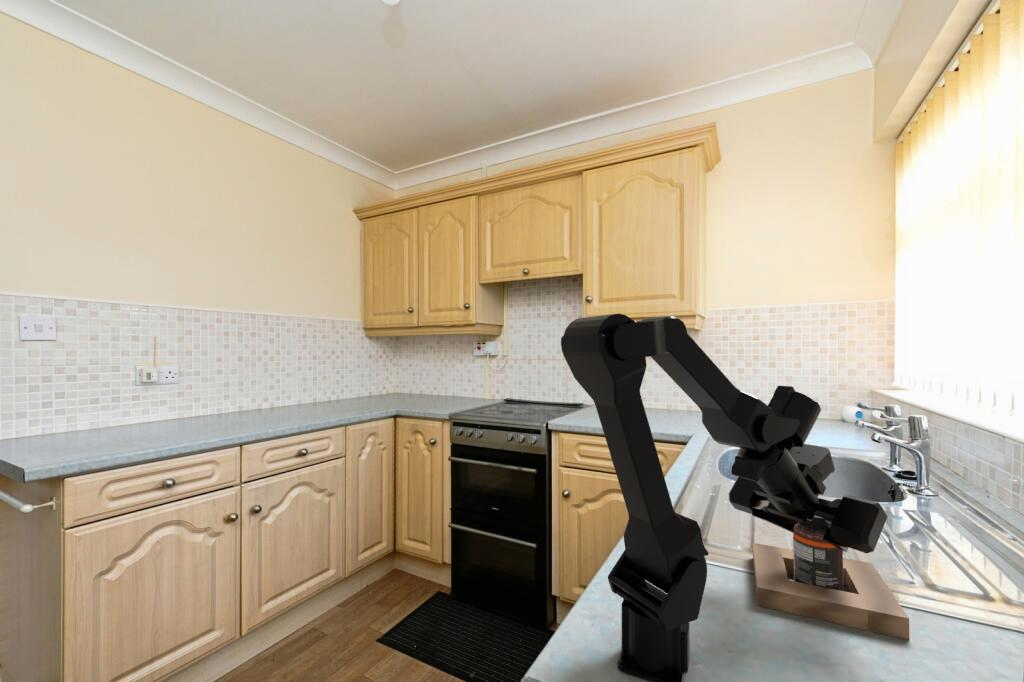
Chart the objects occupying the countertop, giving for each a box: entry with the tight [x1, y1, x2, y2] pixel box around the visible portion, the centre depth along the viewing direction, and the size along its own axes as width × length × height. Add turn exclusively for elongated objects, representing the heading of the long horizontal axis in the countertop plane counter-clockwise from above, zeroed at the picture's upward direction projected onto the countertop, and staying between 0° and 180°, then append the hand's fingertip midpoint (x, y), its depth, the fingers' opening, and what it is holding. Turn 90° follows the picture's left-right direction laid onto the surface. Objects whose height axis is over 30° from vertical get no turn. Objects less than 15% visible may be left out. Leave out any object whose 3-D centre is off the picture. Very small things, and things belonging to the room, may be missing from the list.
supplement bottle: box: [792, 515, 845, 591], centre depth 65 cm, size 6×6×11 cm
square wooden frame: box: [752, 542, 910, 640], centre depth 65 cm, size 16×16×2 cm
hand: (822, 540), depth 65 cm, fingers closed on supplement bottle, 6 cm apart
